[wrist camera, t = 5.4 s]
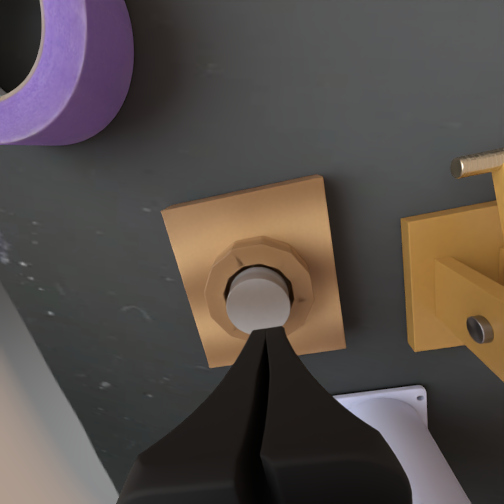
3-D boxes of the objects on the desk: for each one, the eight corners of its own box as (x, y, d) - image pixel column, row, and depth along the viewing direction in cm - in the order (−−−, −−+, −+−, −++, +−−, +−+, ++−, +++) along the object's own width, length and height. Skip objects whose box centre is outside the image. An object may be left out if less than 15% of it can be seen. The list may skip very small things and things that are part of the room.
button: (292, 314, 18) (295, 330, 17) (237, 323, 19) (234, 340, 17) (282, 261, 17) (284, 273, 16) (223, 272, 18) (219, 284, 16)
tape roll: (132, 160, 19) (88, 161, 15) (-43, 131, 19) (-144, 123, 14) (137, -71, 15) (80, -171, 11) (-81, -108, 15) (-235, -224, 11)
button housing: (339, 330, 23) (353, 366, 19) (214, 349, 24) (204, 386, 20) (317, 174, 19) (329, 179, 15) (171, 205, 20) (149, 217, 16)
